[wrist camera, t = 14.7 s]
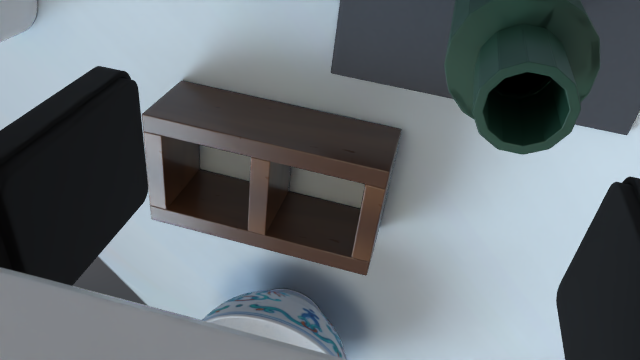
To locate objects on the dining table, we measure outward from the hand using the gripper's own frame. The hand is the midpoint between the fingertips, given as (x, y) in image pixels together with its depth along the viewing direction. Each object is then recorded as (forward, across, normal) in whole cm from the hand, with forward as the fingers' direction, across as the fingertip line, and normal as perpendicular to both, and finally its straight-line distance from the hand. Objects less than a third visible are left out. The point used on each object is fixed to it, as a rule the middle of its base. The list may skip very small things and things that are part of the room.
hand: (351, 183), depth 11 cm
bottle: (+26, -5, +2) cm, 27 cm away
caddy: (+26, +8, +18) cm, 33 cm away
